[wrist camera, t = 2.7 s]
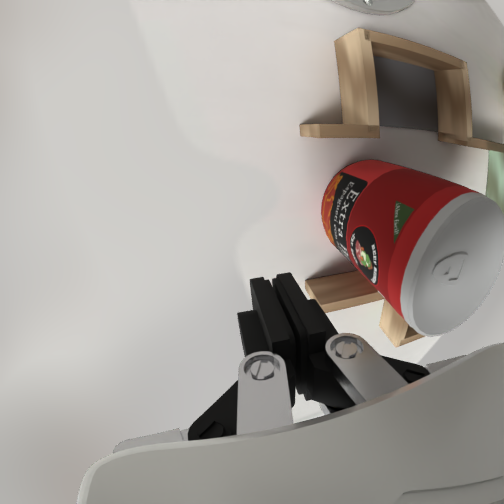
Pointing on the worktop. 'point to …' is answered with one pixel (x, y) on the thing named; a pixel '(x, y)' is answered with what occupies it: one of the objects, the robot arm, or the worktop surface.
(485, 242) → the canned food
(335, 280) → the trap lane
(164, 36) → the worktop surface
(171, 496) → the robot arm
